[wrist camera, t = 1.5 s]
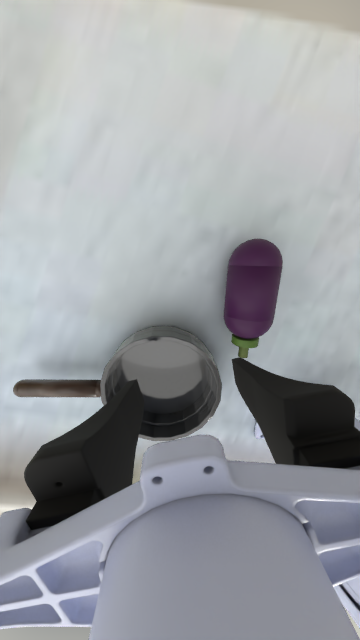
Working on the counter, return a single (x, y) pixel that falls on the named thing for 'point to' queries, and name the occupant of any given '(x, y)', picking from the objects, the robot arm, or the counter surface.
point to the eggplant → (252, 292)
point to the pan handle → (57, 388)
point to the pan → (166, 380)
